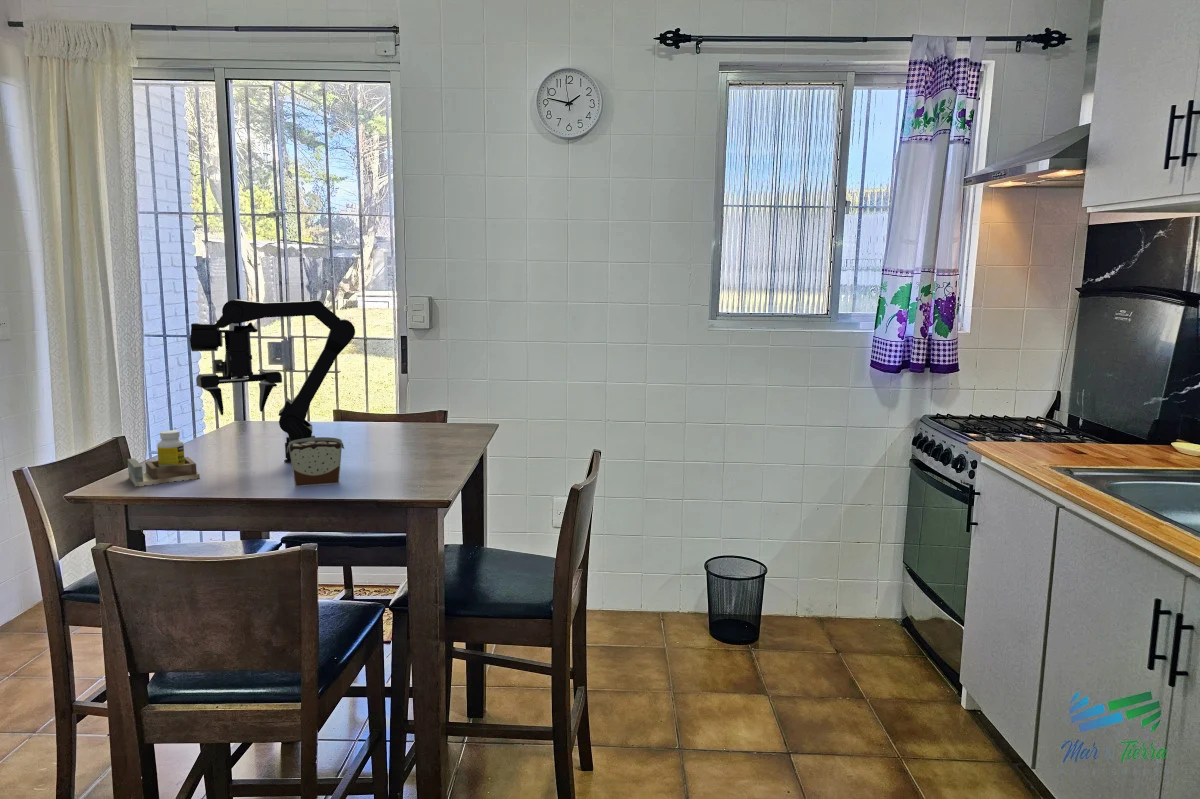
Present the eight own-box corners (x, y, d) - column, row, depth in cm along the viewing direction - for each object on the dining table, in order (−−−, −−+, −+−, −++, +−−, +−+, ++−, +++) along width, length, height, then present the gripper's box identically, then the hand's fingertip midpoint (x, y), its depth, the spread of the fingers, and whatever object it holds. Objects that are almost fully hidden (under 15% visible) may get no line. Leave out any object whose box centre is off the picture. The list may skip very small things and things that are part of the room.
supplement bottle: (182, 474, 182) (179, 433, 180) (156, 476, 180) (153, 434, 179) (187, 469, 187) (184, 429, 185) (162, 470, 185) (159, 430, 184)
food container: (344, 476, 186) (342, 435, 184) (345, 483, 180) (344, 440, 179) (288, 481, 181) (286, 438, 180) (288, 487, 176) (286, 443, 174)
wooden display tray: (190, 470, 190) (189, 452, 190) (199, 478, 183) (198, 459, 182) (128, 477, 182) (127, 459, 182) (135, 486, 175) (134, 467, 174)
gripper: (268, 346, 205) (271, 405, 207) (189, 350, 194) (193, 412, 196) (281, 350, 197) (284, 411, 199) (199, 353, 185) (203, 418, 187)
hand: (241, 413), depth 195 cm, fingers open, 9 cm apart
